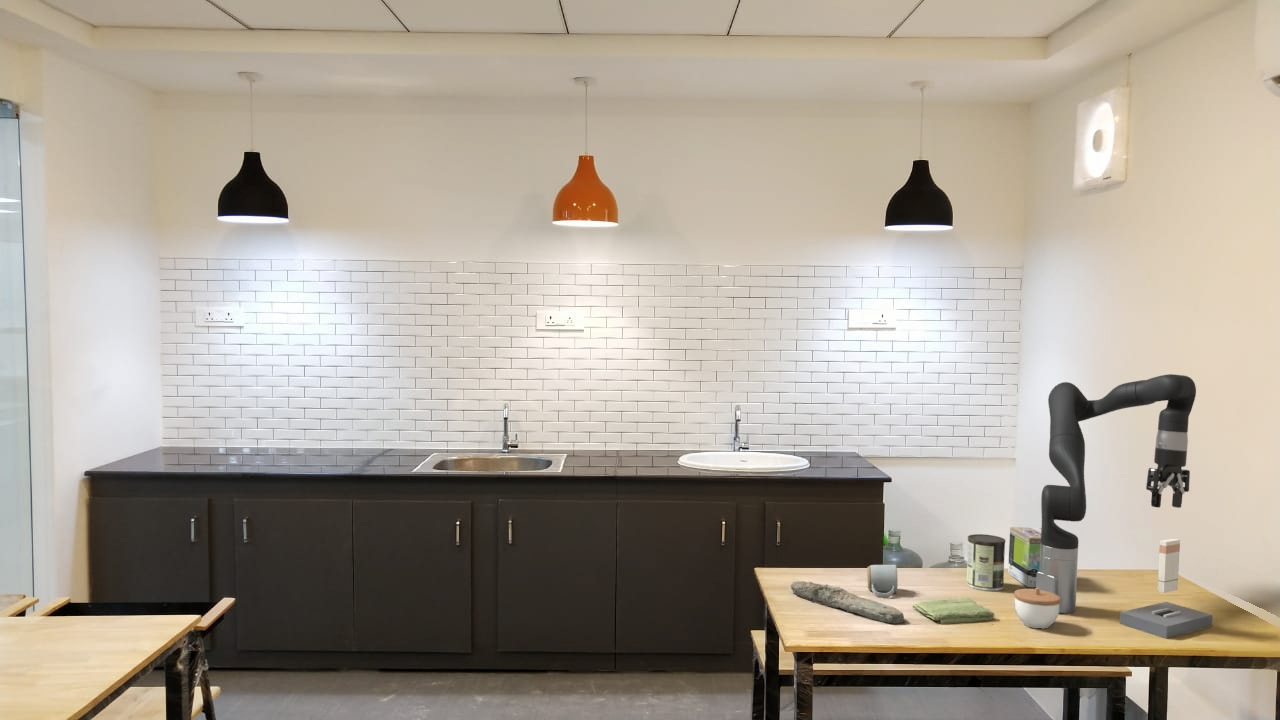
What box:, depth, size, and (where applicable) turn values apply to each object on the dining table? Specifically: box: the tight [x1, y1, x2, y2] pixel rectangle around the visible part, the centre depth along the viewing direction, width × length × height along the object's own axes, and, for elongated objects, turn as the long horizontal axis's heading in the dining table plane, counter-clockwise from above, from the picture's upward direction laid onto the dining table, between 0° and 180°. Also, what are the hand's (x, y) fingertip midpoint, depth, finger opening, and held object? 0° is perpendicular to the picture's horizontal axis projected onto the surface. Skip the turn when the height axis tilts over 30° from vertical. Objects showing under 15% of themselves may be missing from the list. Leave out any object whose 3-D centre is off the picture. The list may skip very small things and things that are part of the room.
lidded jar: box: [1013, 587, 1060, 630], centre depth 233 cm, size 11×11×9 cm
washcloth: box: [912, 596, 995, 625], centre depth 240 cm, size 13×18×3 cm
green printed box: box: [1007, 526, 1042, 588], centre depth 273 cm, size 15×10×15 cm, turn 179°
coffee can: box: [965, 533, 1007, 592], centre depth 266 cm, size 10×10×14 cm
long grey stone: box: [790, 580, 905, 625], centre depth 245 cm, size 35×5×10 cm
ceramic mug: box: [866, 564, 898, 599], centre depth 258 cm, size 11×8×8 cm
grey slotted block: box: [1119, 601, 1213, 639], centre depth 235 cm, size 20×12×4 cm, turn 120°
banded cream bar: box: [1157, 538, 1181, 594], centre depth 234 cm, size 6×2×13 cm, turn 119°
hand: (1166, 507), depth 249 cm, fingers open, 8 cm apart
